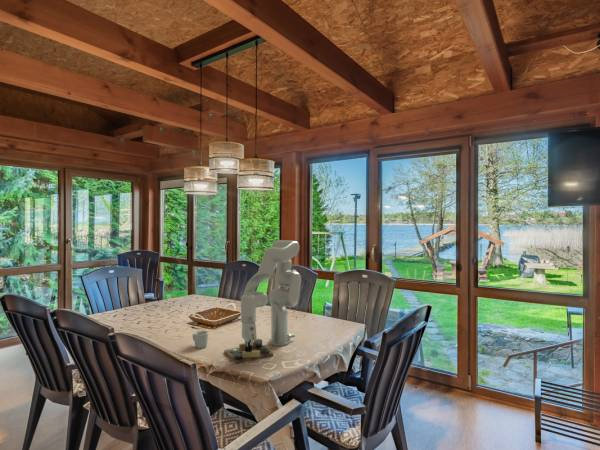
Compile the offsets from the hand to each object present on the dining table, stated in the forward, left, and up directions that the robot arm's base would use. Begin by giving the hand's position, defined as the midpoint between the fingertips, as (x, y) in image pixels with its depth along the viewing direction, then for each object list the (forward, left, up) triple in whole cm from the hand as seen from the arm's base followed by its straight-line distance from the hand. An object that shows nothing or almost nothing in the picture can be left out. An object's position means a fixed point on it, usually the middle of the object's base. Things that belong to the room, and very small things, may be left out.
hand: (248, 353), depth 183 cm
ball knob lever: (-5, -9, -1) cm, 11 cm away
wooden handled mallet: (+2, +2, -1) cm, 3 cm away
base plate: (-2, -5, -3) cm, 6 cm away
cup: (+17, -31, -3) cm, 36 cm away
